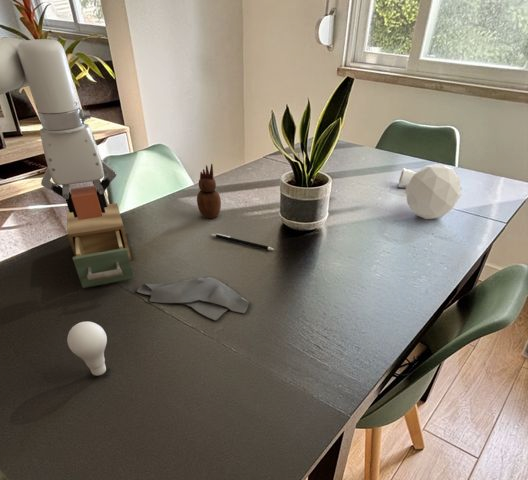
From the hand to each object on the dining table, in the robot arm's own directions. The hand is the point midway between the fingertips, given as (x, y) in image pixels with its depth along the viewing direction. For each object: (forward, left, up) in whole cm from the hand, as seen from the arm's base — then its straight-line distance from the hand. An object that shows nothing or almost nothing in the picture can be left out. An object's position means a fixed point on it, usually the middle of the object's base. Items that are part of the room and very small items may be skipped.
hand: (89, 212), depth 92 cm
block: (0, 0, 0) cm, 0 cm away
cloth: (+24, -6, -16) cm, 29 cm away
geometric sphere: (+79, +44, -16) cm, 92 cm away
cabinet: (-6, +10, -15) cm, 19 cm away
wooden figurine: (+16, +35, -16) cm, 42 cm away
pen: (+29, +19, -15) cm, 38 cm away
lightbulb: (+14, -33, -16) cm, 39 cm away
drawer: (+1, -2, -14) cm, 15 cm away
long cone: (+82, +66, -16) cm, 107 cm away
